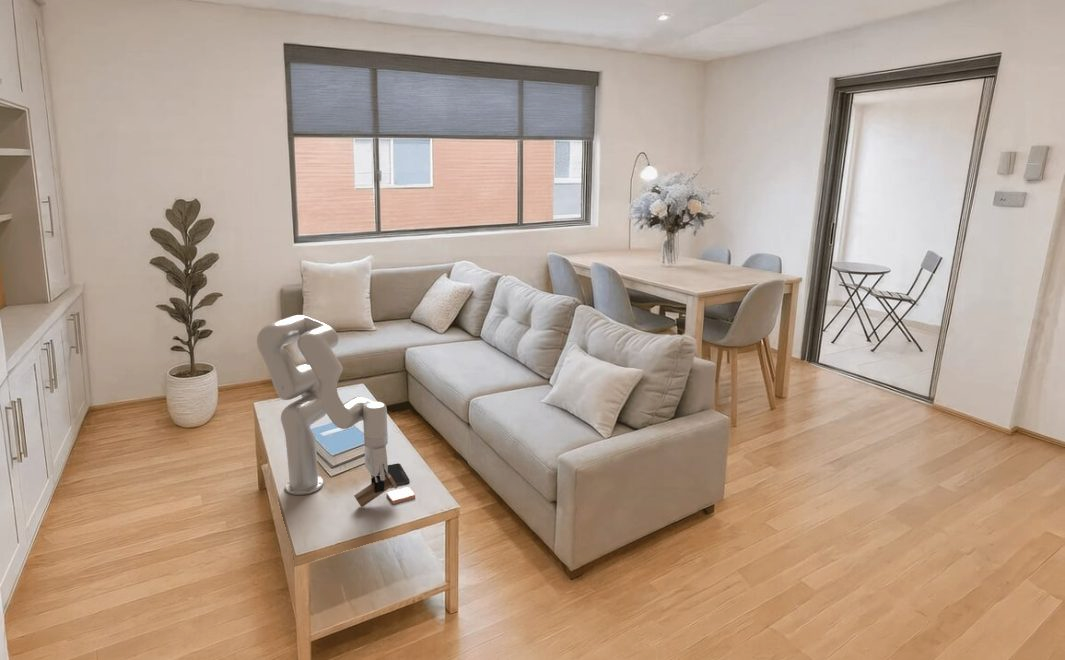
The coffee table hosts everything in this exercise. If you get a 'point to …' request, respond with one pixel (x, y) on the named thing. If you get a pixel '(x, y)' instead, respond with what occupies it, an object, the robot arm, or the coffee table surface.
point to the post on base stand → (370, 494)
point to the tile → (400, 495)
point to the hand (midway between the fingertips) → (378, 489)
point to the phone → (398, 474)
